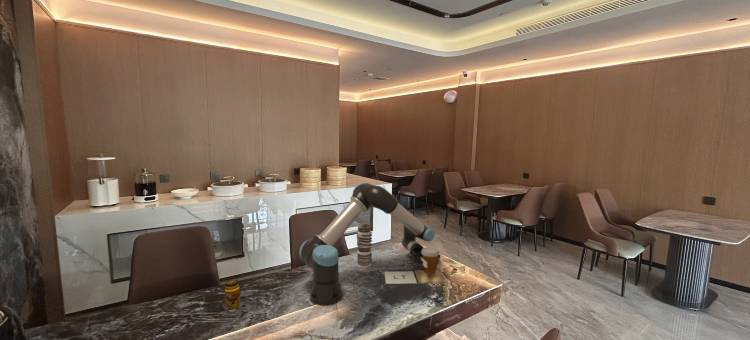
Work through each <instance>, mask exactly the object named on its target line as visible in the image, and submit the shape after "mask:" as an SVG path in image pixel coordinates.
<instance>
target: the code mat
mask: <svg viewBox="0 0 750 340" xmlns="http://www.w3.org/2000/svg"><path fill="white" fill-rule="evenodd" d="M383 273H384V280H385V285H394V284H395V285H397V284H399V285H403V284H404V285H405V284H406V285H407V284H418V282H417V281H418V280H417V278H416V277H415V276H416V275H415V272H414V271H412V270H411V271H409V270H408V271H406V270H405V271H384V272H383Z"/></svg>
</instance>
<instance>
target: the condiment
mask: <svg viewBox="0 0 750 340" xmlns="http://www.w3.org/2000/svg"><path fill="white" fill-rule="evenodd" d="M224 288H225V289H224V298H225V299H224V301H225V304H224V305H226V309H228V310H233V309H237V308H239V307H240V305H241V304H242V303H241V291H240V290H241V288H240V284H239V280H238V279H230V280H228V281H225V287H224Z"/></svg>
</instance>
